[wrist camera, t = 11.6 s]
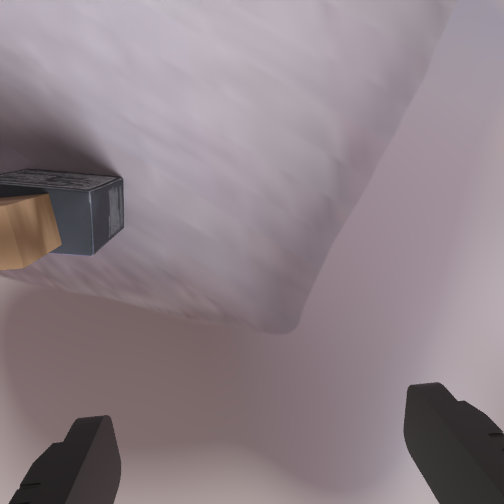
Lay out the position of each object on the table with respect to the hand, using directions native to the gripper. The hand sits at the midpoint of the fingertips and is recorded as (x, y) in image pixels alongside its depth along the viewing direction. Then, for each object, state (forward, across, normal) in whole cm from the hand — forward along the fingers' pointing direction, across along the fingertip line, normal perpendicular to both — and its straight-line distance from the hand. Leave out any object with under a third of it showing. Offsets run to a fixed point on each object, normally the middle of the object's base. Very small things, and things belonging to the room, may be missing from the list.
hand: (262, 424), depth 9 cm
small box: (+33, +18, -2) cm, 38 cm away
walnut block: (+23, +18, -2) cm, 29 cm away
